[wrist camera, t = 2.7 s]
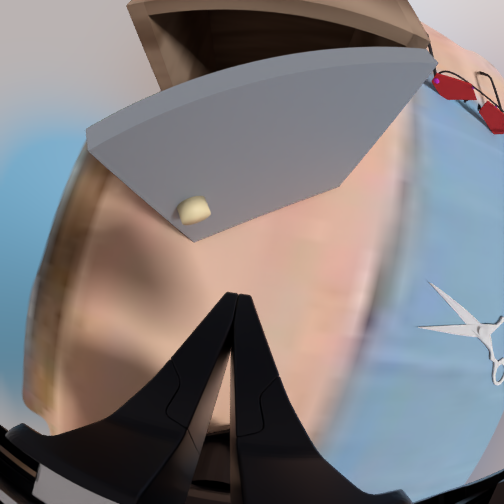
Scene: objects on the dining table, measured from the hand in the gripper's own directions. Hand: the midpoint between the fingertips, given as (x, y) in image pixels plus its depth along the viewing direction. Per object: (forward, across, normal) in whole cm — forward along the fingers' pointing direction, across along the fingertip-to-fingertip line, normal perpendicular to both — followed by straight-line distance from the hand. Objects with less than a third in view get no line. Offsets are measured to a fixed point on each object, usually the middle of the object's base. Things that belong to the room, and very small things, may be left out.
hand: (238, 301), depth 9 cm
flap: (+12, -1, +3) cm, 12 cm away
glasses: (+30, -26, -15) cm, 43 cm away
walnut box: (+18, 0, -3) cm, 18 cm away
